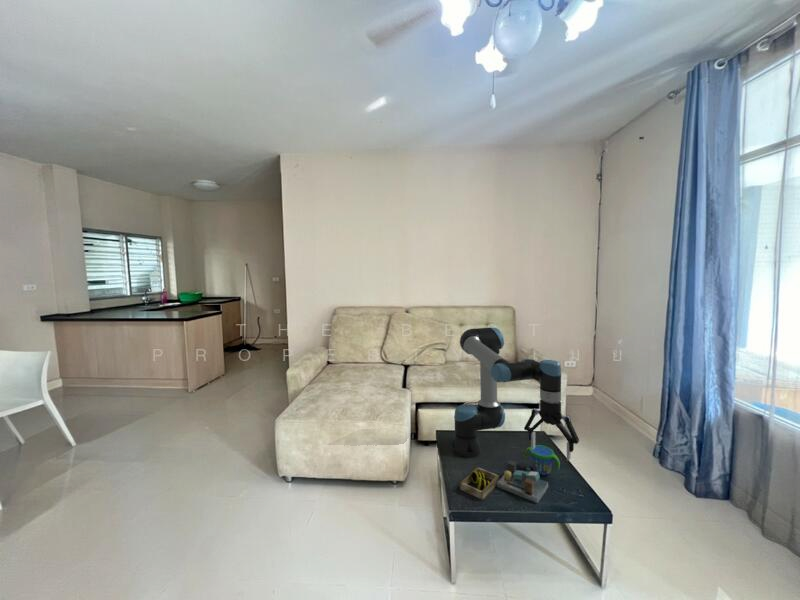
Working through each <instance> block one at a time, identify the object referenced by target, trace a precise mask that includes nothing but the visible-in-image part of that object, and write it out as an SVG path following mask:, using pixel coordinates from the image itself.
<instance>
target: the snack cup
mask: <svg viewBox="0 0 800 600" xmlns="http://www.w3.org/2000/svg"><path fill="white" fill-rule="evenodd" d="M528 451H529V453H530V460H531V466H532V471H533V472H539V476H541V475H542V476H548V475H550V474H551V469H552V465H553V464H552V463H553V460H554V459H555V461H556V463H557V468H556V469H557V471H559V470H560V468H561V467H560V466H561V462H560V459H559V457H558V456H557V454H555V452H554V450H553V449H552V448H550V447H549V446H547V445H546V446H545V445H540V444H535V448H534V449H533V450H532V449H531V446H530V447H527V448H526V449H525V451H524V453H523V459H524V460H525V461H526V460H527V458H528V457H527V452H528Z"/></svg>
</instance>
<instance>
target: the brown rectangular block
mask: <svg viewBox="0 0 800 600" xmlns="http://www.w3.org/2000/svg"><path fill="white" fill-rule="evenodd" d="M524 491H526V492H528V493H531V494H532V493H533V492H534V481H533V480H531V479H528V478H527V479H526V480H525V481H524Z"/></svg>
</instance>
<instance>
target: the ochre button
mask: <svg viewBox="0 0 800 600" xmlns="http://www.w3.org/2000/svg"><path fill="white" fill-rule="evenodd" d="M503 475H504V478H505V479H506V480H511V472H510V471H508V470H504V472H503Z"/></svg>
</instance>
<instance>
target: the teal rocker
mask: <svg viewBox="0 0 800 600" xmlns="http://www.w3.org/2000/svg"><path fill="white" fill-rule="evenodd" d="M522 473H525V474H526V479H527V478H528V479H531V480H533V481H536V482H537V480H538V479H541V477H540V476H541V475H540V474H539V472H534V470H530V472H529V471H526V470H519V469H518V470H516V471H515V472H514V474H513V477H514V479H519V480H522Z"/></svg>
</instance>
